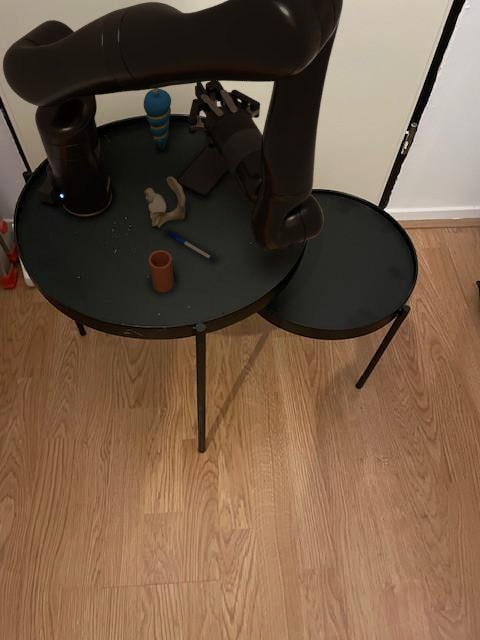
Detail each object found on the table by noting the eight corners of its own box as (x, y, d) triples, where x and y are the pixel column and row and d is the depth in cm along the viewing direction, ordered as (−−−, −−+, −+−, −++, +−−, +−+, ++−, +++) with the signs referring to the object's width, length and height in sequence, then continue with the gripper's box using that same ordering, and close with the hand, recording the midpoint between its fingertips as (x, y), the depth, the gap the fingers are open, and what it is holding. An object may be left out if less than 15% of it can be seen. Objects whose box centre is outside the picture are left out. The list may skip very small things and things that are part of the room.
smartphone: (174, 181, 108) (215, 135, 114) (174, 184, 109) (215, 139, 115) (206, 196, 106) (246, 149, 113) (206, 200, 107) (245, 153, 113)
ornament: (178, 144, 114) (173, 80, 101) (169, 161, 112) (164, 98, 99) (154, 139, 115) (147, 74, 102) (145, 155, 112) (136, 92, 99)
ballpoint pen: (165, 235, 102) (165, 232, 101) (168, 232, 103) (168, 229, 102) (212, 262, 100) (212, 258, 99) (215, 258, 100) (215, 255, 99)
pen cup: (149, 289, 96) (145, 265, 90) (156, 272, 98) (153, 248, 92) (170, 294, 95) (167, 270, 89) (176, 277, 97) (174, 253, 91)
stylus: (213, 152, 105) (213, 90, 94) (204, 147, 106) (203, 86, 94) (219, 145, 106) (219, 84, 95) (210, 141, 107) (209, 79, 95)
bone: (127, 218, 101) (141, 167, 96) (145, 210, 107) (158, 161, 102) (167, 239, 100) (183, 188, 95) (183, 229, 106) (198, 181, 101)
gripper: (284, 120, 88) (241, 56, 96) (203, 141, 85) (166, 74, 93) (279, 156, 94) (240, 94, 102) (204, 177, 91) (169, 111, 99)
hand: (205, 84), depth 97 cm, fingers closed on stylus, 2 cm apart
